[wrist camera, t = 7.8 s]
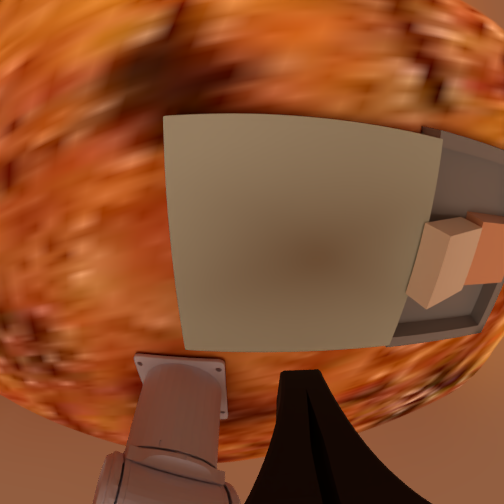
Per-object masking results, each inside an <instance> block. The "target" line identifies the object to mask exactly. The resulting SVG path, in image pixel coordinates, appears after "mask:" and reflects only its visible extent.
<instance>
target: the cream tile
mask: <svg viewBox="0 0 504 504" xmlns="http://www.w3.org/2000/svg"><path fill="white" fill-rule="evenodd" d="M481 231H482V227H480V226H478V225H476V224H474V223H473V222H471V221H469V220H467V219H465V218H463V217H456V218H451V219H445V220H439V221H433V222H427V223H425V226H424V230H423V234H422V238H421V242H420V246H419V250H418V253H417V257H416V260H415V264H414V267H413V271H412V274H411V277H410V281H409V284H408V287H407V290H406V293H405V294H407V295H408V296H409V297H411V298H412V299H413V300H415V301H416V302H417V303H418V304H420V305H421V306H422V307H424V308H425V309H428V308H430V307H432V306H434V305H436V304H438V303H439V302H441V301H443V300H445V299H447V298H449V297H450V296H452V295H454V294H456V293H457V292H459V291H461V290H462V288H463V285H464V283H465V280H466V278H467V275H468V272H469V269H470V266H471V263H472V261H473V258H474V255H475V251H476V248H477V245H478V242H479V238H480V235H481Z"/></svg>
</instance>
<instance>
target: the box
mask: <svg viewBox="0 0 504 504" xmlns="http://www.w3.org/2000/svg"><path fill="white" fill-rule="evenodd" d="M421 134H425V135H429V136H433V137H436V138H440V139H443V144H442V152H441V159H440V166H439V172H438V178H437V184H436V190H435V195H434V200H433V205H432V210H431V214H430V219H429V222H433V221H439V220H445V219H451V218H456V217H463V218H465V219H466V215H467V211H468V212H476V213H483V214H490V215H497V216H504V150H502V149H499V148H496V147H493V146H491V145H488V144H485V143H482V142H479V141H476V140H473V139H470V138H466V137H463V136H460V135H456V134H453V133H449V132H446V131H442V130H438V129H433V128H428V127H423V126H422V132H421ZM503 283H504V277H503V279H502V282H500V283H487V284H473V285H463V288H462V290H461V291H459V292H457V293H456V294H454V295H452V296H450V297H449V298H447V299H445V300H443V301H441V302H439V303H438V304H436V305H434V306H432V307H430V308H428V309H425V308H424V307H422V306H421V305H420V304H418V303H417V302H416V301H415V300H413V299H412V298H411V297H409V296H408V297H407V300H406V302H405V305H404V308H403V311H402V314H401V316H400V319H399V322H398V324H397V327H396V330H395V332H394V335H393V337H392V340H391V342H390V345H387V346H386V347H393V346H401V345H409V344H416V343H423V342H430V341H437V340H443V339H449V338H455V337H460V336H465V335H471V334H476V333H480V332H481V331H482V329H483V327H484V325H485V323H486V321H487V319H488V317H489V315H490V313H491V311H492V308H493V306H494V304H495V302H496V300H497V297H498V295H499V293H500V290H501V288H502V286H503Z"/></svg>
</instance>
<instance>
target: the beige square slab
mask: <svg viewBox="0 0 504 504" xmlns="http://www.w3.org/2000/svg"><path fill="white" fill-rule="evenodd" d="M163 127H164V158H165V178H166V194H167V207H168V220H169V231H170V241H171V251H172V260H173V269H174V277H175V285H176V293H177V300H178V307H179V314H180V321H181V327H182V333H183V339H184V345H185V350H198V351H222V352H299V351H323V350H340V349H354V348H366V347H377V346H387V345H390V342H391V340H392V337H393V335H394V332H395V330H396V327H397V324H398V322H399V319H400V316H401V314H402V311H403V308H404V305H405V302H406V300H407V297H408V295H407V294H405V293H406V290H407V287H408V284H409V281H410V277H411V274H412V271H413V267H414V264H415V260H416V257H417V253H418V250H419V246H420V242H421V238H422V234H423V230H424V226H425V223H427V222H429V219H430V214H431V210H432V205H433V200H434V195H435V190H436V184H437V178H438V172H439V166H440V159H441V152H442V144H443V139H440V138H436V137H433V136H429V135H425V134H420V133H416V132H411V131H406V130H401V129H396V128H391V127H385V126H379V125H373V124H367V123H360V122H353V121H346V120H338V119H329V118H319V117H308V116H295V115H279V114H253V113H210V114H184V115H170V116H163Z"/></svg>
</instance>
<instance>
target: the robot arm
mask: <svg viewBox="0 0 504 504" xmlns="http://www.w3.org/2000/svg"><path fill="white" fill-rule="evenodd" d="M134 361H135V364H136V367H137V370H138V373H139V375H140V378H141V381H142V383H143V387H142V390H141V393H140V397H139V400H138V404H137V407H136V411H135V414H134V418H133V422H132V425H131V429H130V433H129V437H128V441H127V444H126V449H125V451H124V453H120V452H118V451H115V452H114V453H111V454H109V455H107V456H106V458H105V461H104V464H103V466H102V470H101V473H100V476H99V480H98V484H97V487H96V491H95V496H94V500H93V504H241V503H240V499H239V497H238V495H237V493H236V491H235V489H234V488H233V486H232V485H231V484H229V483H227V482H225V472H224V471H220V470H217V455H218V439H219V423H220V419H227V418H228V406H227V391H226V375H225V362H224V361H223V360H221V359H205V358H187V357H172V356H160V355H149V354H140V353H137V354H135V355H134ZM244 504H431V503H430V502H429V501H427V500H426V499H424V498H423V497H421V496H420V495H418V494H417V493H416V492H414V491H413V490H412V489H411V488H409V487H408V486H407V485H405V483H403V482H402V481H401V480H400V479H399V478H398V477H397V476H395V475H394V474H393V473H392V472H391V471H390V470H389V469H388V468H387V467H386V466H385V465H384V464H383V463H382V462H381V461H380V460H379V459H378V458H377V456H376V455H375V454H374V453H373V452H372V451H371V450H370V448H369V447H368V446H367V445H366V444H365V442H364V441H363V440H362V438H361V437H360V436H359V434H358V433H357V432H356V430H355V429H354V428H353V426H352V425H351V423H350V422H349V420H348V419H347V417H346V416H345V414H344V413H343V411H342V410H341V408H340V406H339V405H338V403H337V402H336V400H335V398H334V396H333V395H332V393H331V391H330V389H329V387H328V386H327V384H326V382H325V380H324V378H323V376H322V374H321V372H320V371H319V370H318V369H315V370H294V371H283V372H281V373H280V380H279V387H278V395H277V413H276V425H275V428H274V432H273V435H272V439H271V442H270V445H269V448H268V451H267V454H266V457H265V460H264V463H263V465H262V468H261V470H260V472H259V475H258V477H257V479H256V481H255V484H254V486H253V488H252V490H251V492H250V495H249V496H248V498H247V500H246V502H245V503H244Z"/></svg>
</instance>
